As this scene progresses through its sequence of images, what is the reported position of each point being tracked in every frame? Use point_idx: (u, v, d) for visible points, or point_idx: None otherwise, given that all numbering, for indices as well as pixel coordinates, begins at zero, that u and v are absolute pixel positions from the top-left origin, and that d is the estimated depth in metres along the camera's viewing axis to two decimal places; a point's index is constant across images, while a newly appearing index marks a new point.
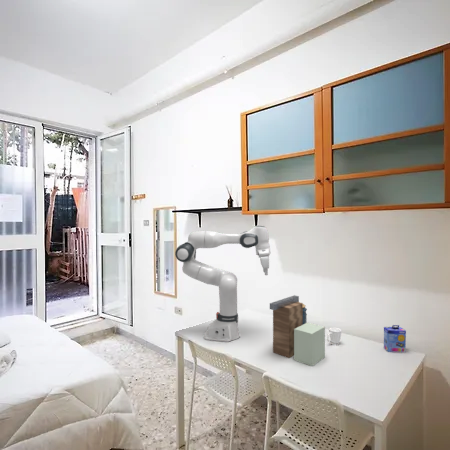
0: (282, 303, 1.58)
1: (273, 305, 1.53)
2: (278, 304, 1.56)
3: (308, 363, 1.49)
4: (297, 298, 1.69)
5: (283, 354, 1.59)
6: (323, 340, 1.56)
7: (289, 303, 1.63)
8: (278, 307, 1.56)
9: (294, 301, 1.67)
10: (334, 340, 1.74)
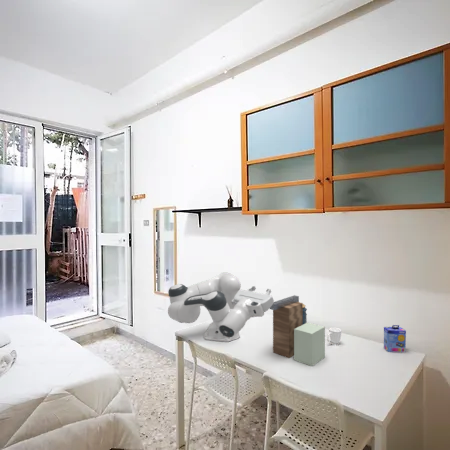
0: (282, 303, 1.58)
1: (273, 305, 1.53)
2: (278, 304, 1.56)
3: (308, 363, 1.49)
4: (297, 298, 1.69)
5: (283, 354, 1.59)
6: (323, 340, 1.56)
7: (289, 303, 1.63)
8: (278, 307, 1.56)
9: (294, 301, 1.67)
10: (334, 340, 1.74)
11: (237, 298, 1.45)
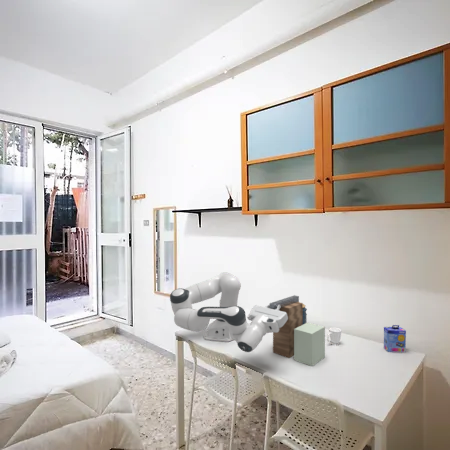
0: (282, 303, 1.58)
1: (273, 305, 1.53)
2: (278, 304, 1.56)
3: (308, 363, 1.49)
4: (297, 298, 1.69)
5: (283, 354, 1.59)
6: (323, 340, 1.56)
7: (289, 303, 1.63)
8: None
9: (294, 301, 1.67)
10: (334, 340, 1.74)
11: (253, 314, 1.53)
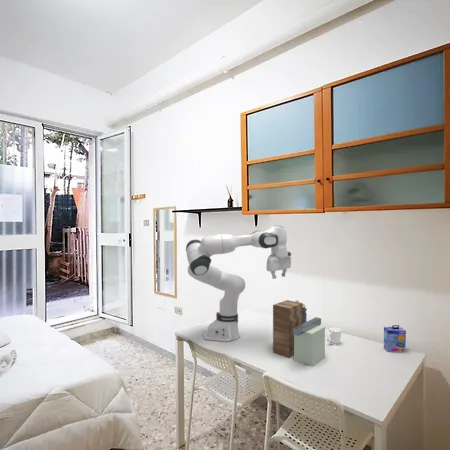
0: (305, 327, 1.50)
1: (297, 330, 1.45)
2: (302, 329, 1.47)
3: (308, 363, 1.49)
4: (319, 320, 1.61)
5: (283, 354, 1.59)
6: (323, 340, 1.56)
7: (312, 327, 1.55)
8: (302, 332, 1.47)
9: (317, 324, 1.59)
10: (334, 340, 1.74)
11: None
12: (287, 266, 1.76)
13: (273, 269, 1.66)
